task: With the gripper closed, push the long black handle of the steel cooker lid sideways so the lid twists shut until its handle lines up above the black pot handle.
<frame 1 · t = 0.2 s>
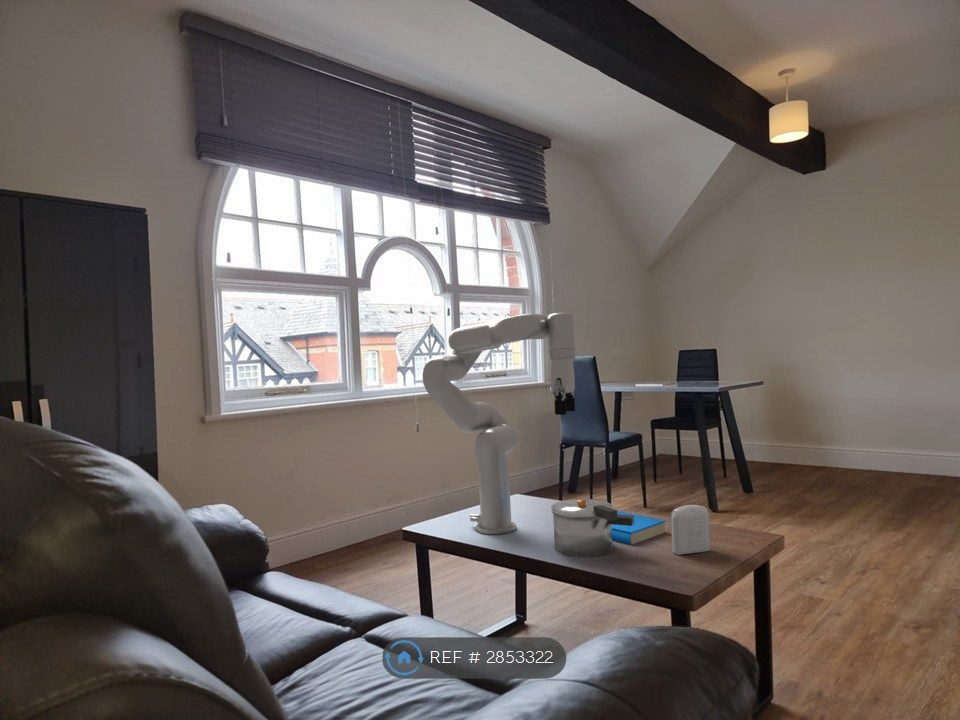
hand: (565, 412, 188), 37 cm above the table, tool pointing down, fingers open, 9 cm apart
cooker pot: (583, 547, 177), on the table
book: (614, 532, 193), on the table
lid: (588, 507, 174), point 12 cm above the table, hinge at -40.0°
white arched block: (691, 552, 170), on the table
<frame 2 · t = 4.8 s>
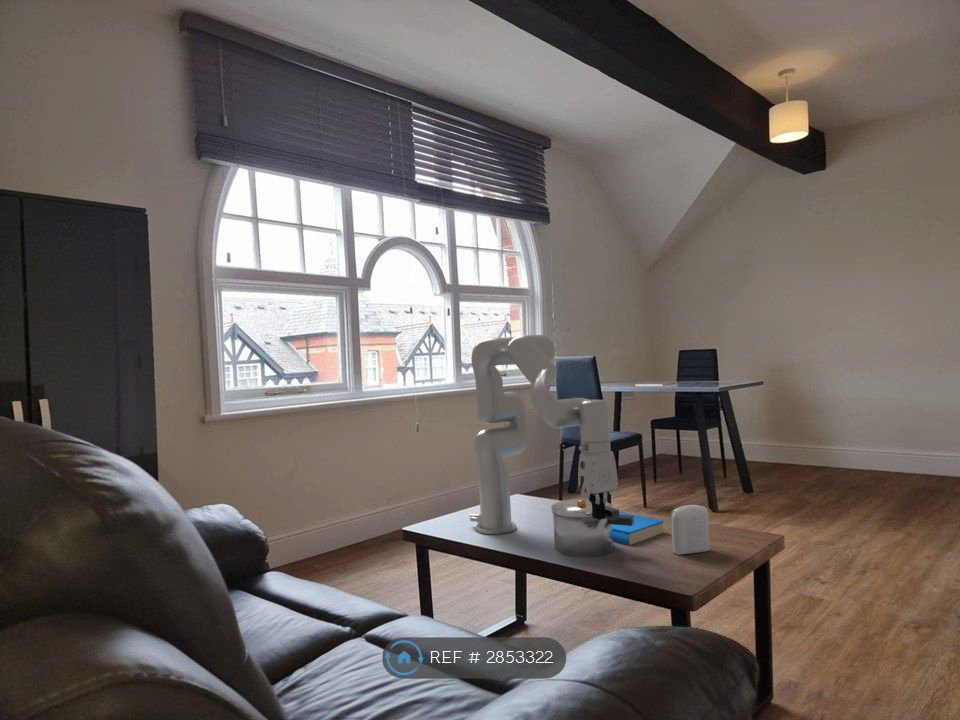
hand: (598, 518, 165), 11 cm above the table, tool pointing down, fingers closed
lid: (588, 507, 174), point 12 cm above the table, hinge at -37.3°, touching gripper
everything else where it was.
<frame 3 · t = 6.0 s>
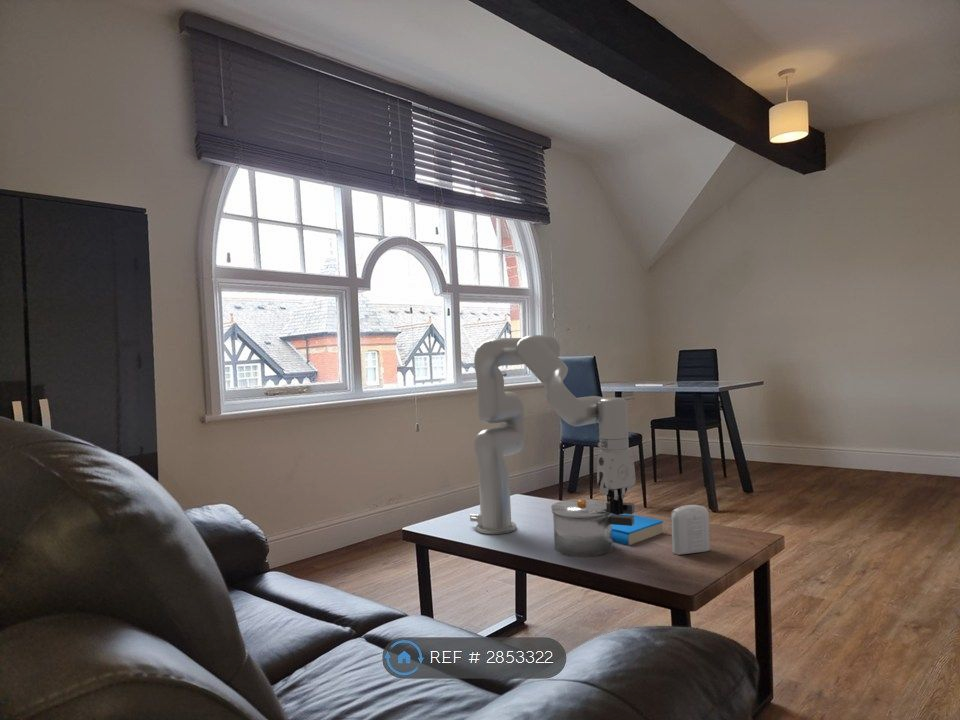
hand: (616, 513, 169), 11 cm above the table, tool pointing down, fingers closed
lid: (592, 506, 176), point 12 cm above the table, hinge at -3.9°, touching gripper
everything else where it was.
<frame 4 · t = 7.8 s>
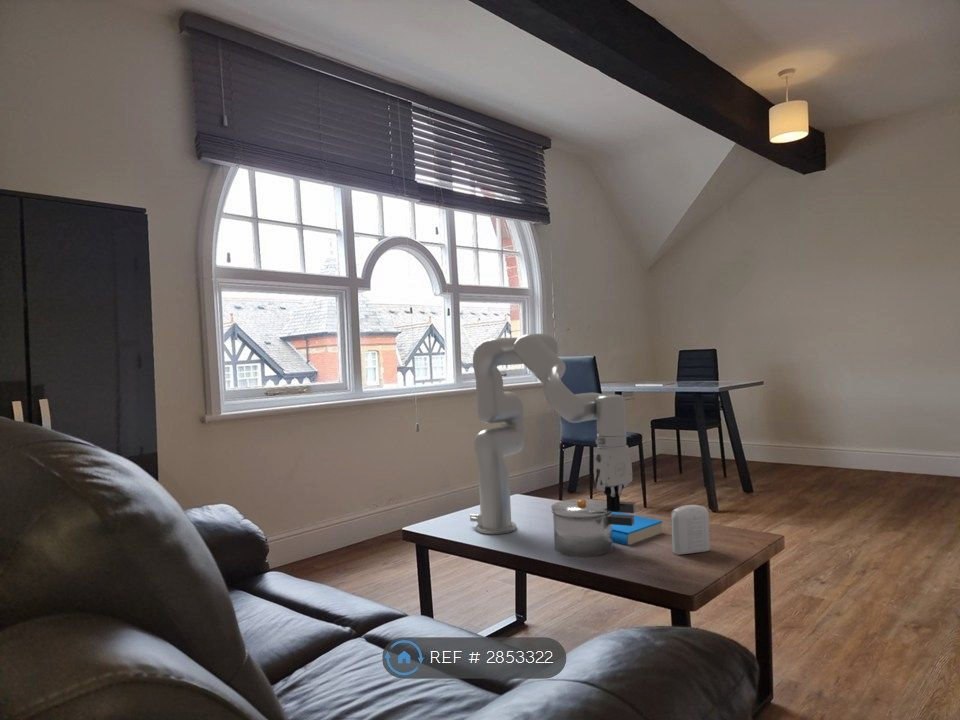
hand: (613, 510, 169), 12 cm above the table, tool pointing down, fingers closed
lid: (592, 506, 176), point 12 cm above the table, hinge at 0.8°
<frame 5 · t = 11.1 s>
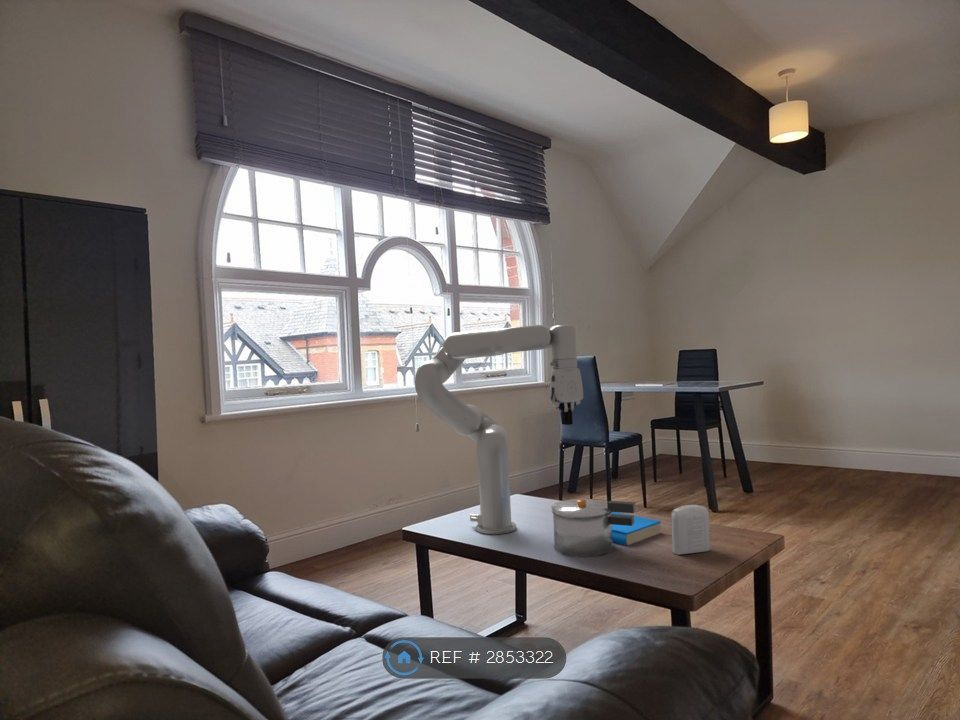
hand: (567, 424, 197), 32 cm above the table, tool pointing down, fingers closed
at the end: lid at +1° (first picture: -40°) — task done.
